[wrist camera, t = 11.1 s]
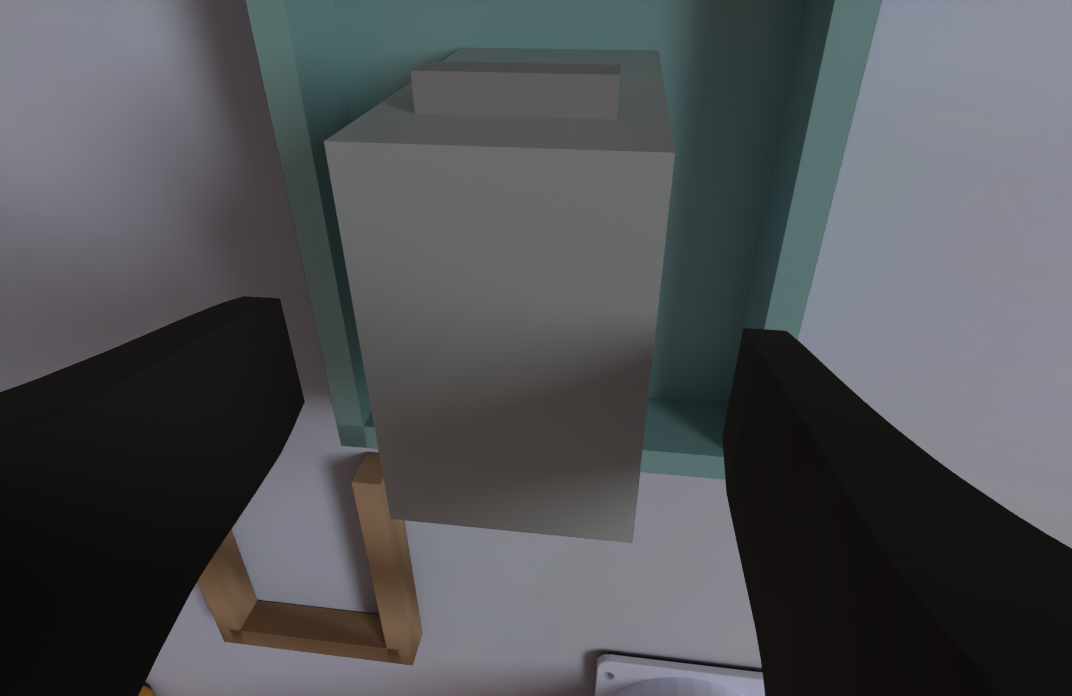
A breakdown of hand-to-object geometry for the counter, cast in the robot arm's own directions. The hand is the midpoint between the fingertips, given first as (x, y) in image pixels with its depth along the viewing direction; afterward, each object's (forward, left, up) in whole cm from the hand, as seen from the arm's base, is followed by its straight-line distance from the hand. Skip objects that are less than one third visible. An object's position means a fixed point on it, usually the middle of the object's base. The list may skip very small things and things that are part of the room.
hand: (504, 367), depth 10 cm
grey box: (0, 0, -8) cm, 8 cm away
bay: (-15, +10, -8) cm, 20 cm away
